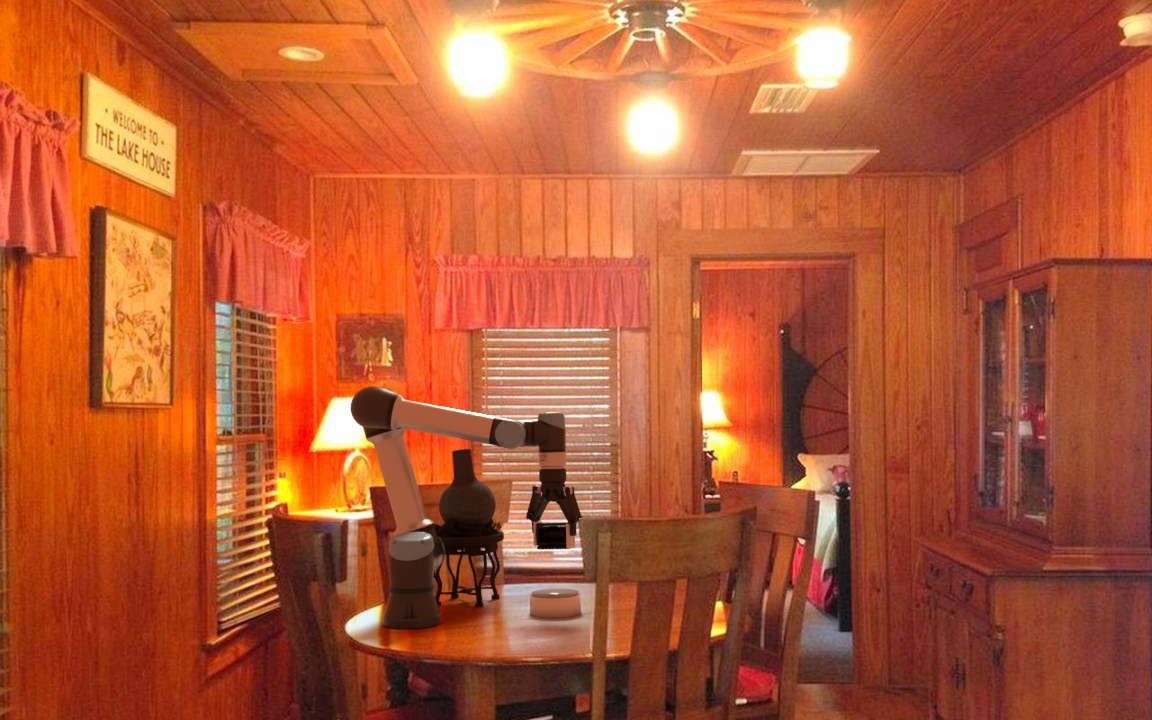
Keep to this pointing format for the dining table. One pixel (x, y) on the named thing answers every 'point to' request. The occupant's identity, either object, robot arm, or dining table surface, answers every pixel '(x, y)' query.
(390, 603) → the robot arm
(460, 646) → the dining table surface
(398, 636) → the dining table surface
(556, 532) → the end cap
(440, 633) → the dining table surface
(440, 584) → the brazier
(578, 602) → the stand
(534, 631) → the dining table surface
